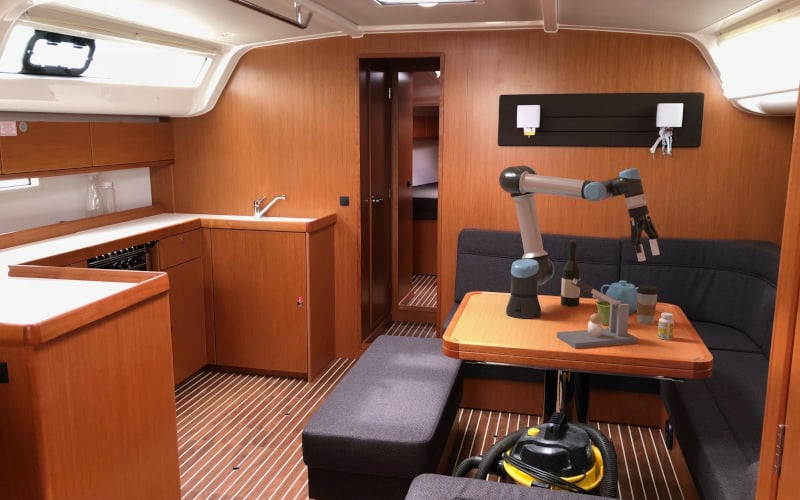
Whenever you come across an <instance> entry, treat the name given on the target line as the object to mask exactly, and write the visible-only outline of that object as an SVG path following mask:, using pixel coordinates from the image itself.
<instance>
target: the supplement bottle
mask: <svg viewBox="0 0 800 500" xmlns="http://www.w3.org/2000/svg"><path fill="white" fill-rule="evenodd" d="M673 315H674V314H672V313H670V312H661V315H660V316H661V318H659V319H658V326H657V338H658V339H660V340H665V341H670V340H672V339H673V337H674V336H673V335H674V327H675V326H674V325H675V321H674V319H673V317H674V316H673Z"/></svg>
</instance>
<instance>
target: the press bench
mask: <svg viewBox="0 0 800 500" xmlns="http://www.w3.org/2000/svg"><path fill="white" fill-rule="evenodd" d="M617 302H619V303H622V301H617ZM629 315H630V314H629V304H618V307H616V306H615V305H613V304H611V303H610V320H609V325H608V327H607V328H603V325H602V322H600V321H601V317H600V315H599V314H598V313H597V312H596V313H592V314H591V315H590V317H589V321H588V323H587V329H581V330H571V331H558V332H556V338H557V339H559V340H561V341H563V342H564V343H566V344H567V345H569V346H570V347H572V348H574V349H586V348H587V349H588V348H598V347H606V346H608V347H610V346H619V345H621V346H622V345H632V344H639V338H638V337H637V336H635V335H633V334H631V333H629V332H628V331H629Z"/></svg>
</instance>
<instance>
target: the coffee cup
mask: <svg viewBox="0 0 800 500" xmlns="http://www.w3.org/2000/svg"><path fill="white" fill-rule="evenodd" d="M637 287H638V289H637V310H636V315H637V319H636V320H637V322H638V323H639V324H642V325H643V324H644V325H651V324H652V325H653V323H654V322H655V321H654V320H655V315H656V308H657V303H658V295H659V290H658V287H657V286H654V285H649V284H648V285H646V284H645V285H644V284H641V285H638V286H637Z"/></svg>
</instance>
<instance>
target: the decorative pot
mask: <svg viewBox="0 0 800 500" xmlns="http://www.w3.org/2000/svg"><path fill="white" fill-rule="evenodd" d="M600 287H601V288H600V293H602V294H604V295H606V296H608V297H610V298H611V299H613V300H615V301H622V303H621V304H629V315H631V314H632V313H633V312H637V289H638V286H637V287H636V285H634V284H632V283H628V281H627V280H622V279H621V280H619V281H618V282H612V283H611V284H607V283H606V284H603V285H602V286H600ZM605 287H606V288H608V289H607V290H606V292H605V293H604V288H605ZM598 301H600V300H598ZM603 301H605V300H603Z"/></svg>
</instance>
